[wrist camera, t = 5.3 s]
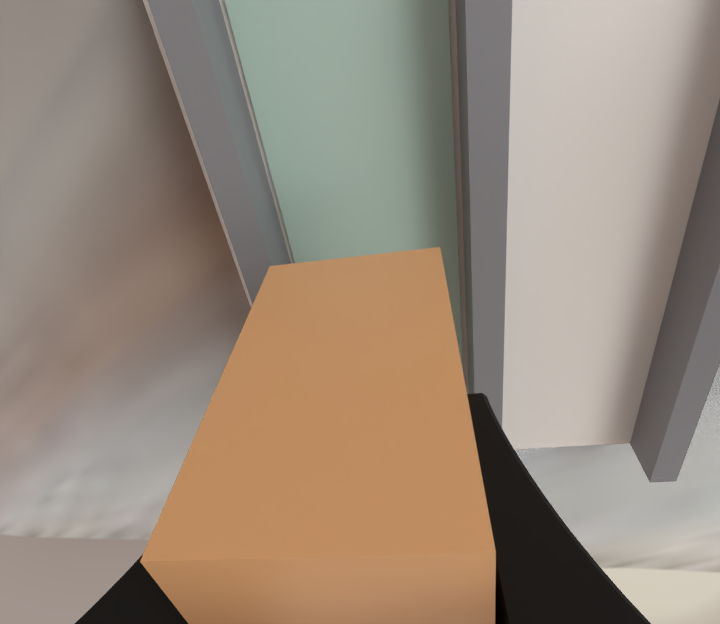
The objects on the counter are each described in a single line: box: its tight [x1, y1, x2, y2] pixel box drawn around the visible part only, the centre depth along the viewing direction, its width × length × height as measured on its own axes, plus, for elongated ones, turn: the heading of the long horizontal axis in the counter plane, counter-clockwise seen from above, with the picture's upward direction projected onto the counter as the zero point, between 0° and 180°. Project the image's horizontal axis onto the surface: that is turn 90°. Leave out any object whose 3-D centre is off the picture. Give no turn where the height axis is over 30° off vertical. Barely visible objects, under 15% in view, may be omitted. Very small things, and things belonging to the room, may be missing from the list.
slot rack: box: [143, 0, 720, 482], centre depth 16 cm, size 17×20×3 cm
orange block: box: [140, 247, 496, 624], centre depth 10 cm, size 4×6×7 cm, turn 9°
